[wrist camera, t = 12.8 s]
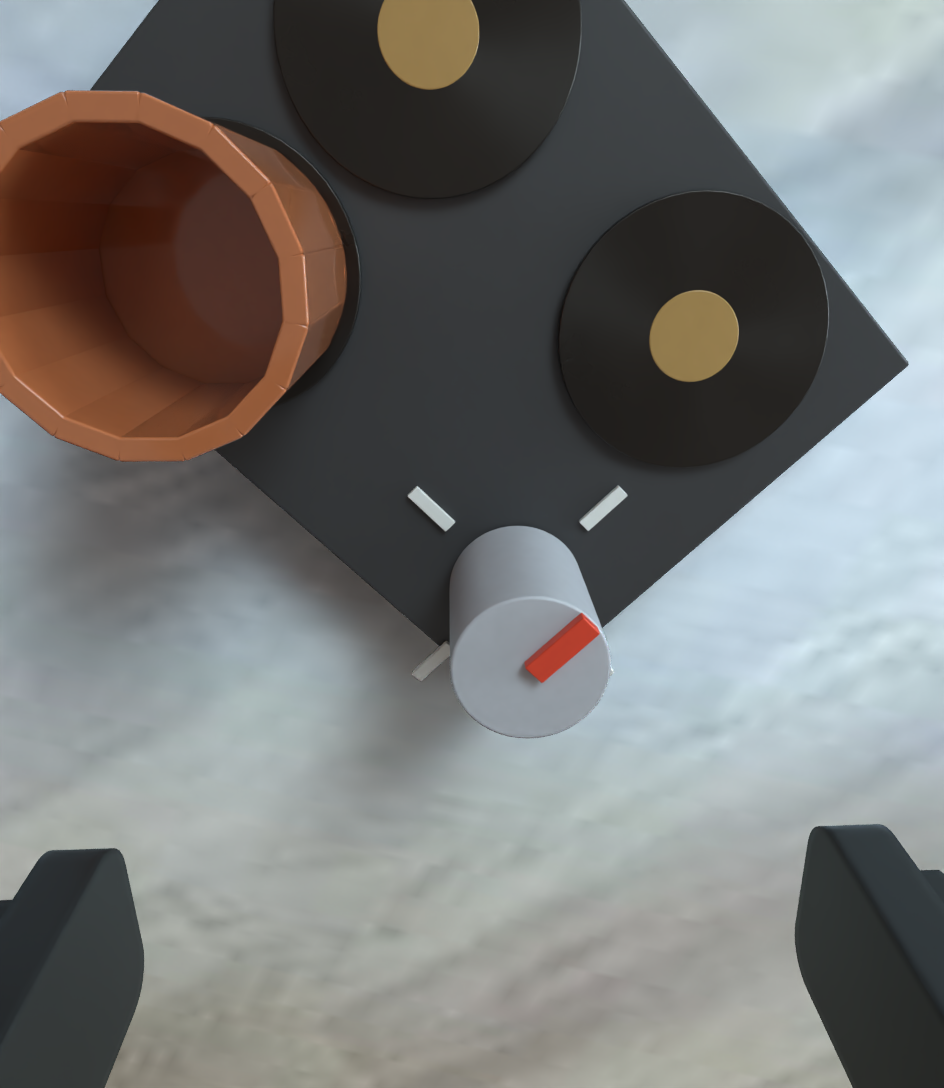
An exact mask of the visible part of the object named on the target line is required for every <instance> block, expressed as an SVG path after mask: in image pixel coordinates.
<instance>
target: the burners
mask: <svg viewBox="0 0 944 1088" xmlns="http://www.w3.org/2000/svg"><path fill="white" fill-rule="evenodd" d="M273 24H274V38H275V46H276V54H277V58H278V62H279V66H280V70H281V75H282V78H283V81H284V83H285V86H286V89H287V91H288V94H289V97H290V99H291V101H292V103H293V105H294V107H295V109H296V111H297V113H298V115H299V117H300V119H301V120H302V122H303V123H304V125H305V126H306V128H307V129H308V131H309V132H310V134H311V135H312V136H313V138H314V139H315V140H316V141H317V142H318V144H319V145H320V146H321V147H322V148H323V149H324V151H325V152H326V153H327V154H328V155H330V156H331V157H332V158H333V159H334V160H335V161H336V162H337V163H338V164H339V165H340V166H342V167H343V168H345V169H346V170H347V171H349V172H350V173H352V174H353V175H354V176H356V177H357V178H359V179H361V180H363V181H365V182H367V183H368V184H370V185H372V186H374V187H376V188H379V189H382V190H384V191H387V192H390V193H393V194H397V195H401V196H406V197H410V198H420V199H443V198H452V197H457V196H462V195H467V194H470V193H473V192H475V191H478V190H481V189H484V188H486V187H488V186H490V185H492V184H494V183H496V182H497V181H499V180H501V179H503V178H504V177H506V176H507V175H509V174H510V173H511V172H513V171H514V170H516V169H517V168H518V167H520V166H521V165H522V164H523V163H524V162H525V161H526V160H527V159H528V158H529V157H530V156H531V155H532V154H533V153H534V152H535V151H536V150H537V149H538V147H539V146H540V145H541V144H542V143H543V141H544V140H545V139H546V138H547V136H548V135H549V133H550V132H551V130H552V129H553V127H554V125H555V124H556V122H557V121H558V119H559V117H560V115H561V113H562V111H563V109H564V106H565V104H566V102H567V100H568V97H569V94H570V91H571V89H572V86H573V83H574V80H575V76H576V71H577V66H578V62H579V57H580V47H581V38H582V11H581V3H580V0H274V6H273ZM202 118H205V119H207V120H209V121H212V122H214V123H216V124H219V125H221V126H223V127H226V128H228V129H230V130H232V131H235V132H237V133H239V134H241V135H244V136H246V137H248V138H250V139H253V140H255V141H257V142H259V143H262V144H264V145H266V146H268V147H270V148H273V149H275V150H277V151H278V152H279V153H281V154H282V155H283V156H284V157H285V158H286V159H287V160H289V161H290V162H291V163H292V164H293V165H294V166H295V167H297V168H298V169H299V170H300V171H301V172H302V173H303V174H304V175H305V176H306V177H307V178H308V180H309V181H310V182H311V183H312V184H313V185H314V187H315V188H316V189H317V191H318V192H319V194H320V195H321V197H322V198H323V200H324V201H325V203H326V204H327V206H328V208H329V210H330V212H331V214H332V216H333V218H334V220H335V223H336V225H337V228H338V231H339V234H340V236H341V240H342V245H343V249H344V253H345V261H346V270H347V282H346V295H345V302H344V307H343V311H342V314H341V318H340V321H339V324H338V326H337V328H336V331H335V333H334V335H333V337H332V339H331V342H330V345H329V346H328V348H327V350H326V351H325V352H324V353H323V354H322V355H321V356H320V357H319V358H318V359H317V360H316V361H315V363H314V364H313V365H312V366H311V367H310V368H309V369H308V370H307V371H306V372H305V373H304V374H303V375H302V377H301V378H300V379H299V380H298V381H297V382H296V383H295V384H294V385H293V386H292V387H291V388H290V389H289V390H288V391H287V392H286V393H285V394H284V396H283V397H282V398H281V399H280V400H279V401H278V402H277V403H276V404H275V405H274V406H273V407H275V406H278V405H281V404H284V403H286V402H288V401H290V400H292V399H293V398H295V397H297V396H299V395H301V394H302V393H304V392H305V391H306V390H308V389H309V388H311V387H312V386H313V385H315V384H316V383H317V382H318V381H319V380H320V379H321V378H322V377H323V376H324V375H325V374H326V373H327V372H328V371H329V369H330V368H331V367H332V366H333V365H334V363H335V362H336V361H337V360H338V358H339V356H340V355H341V353H342V351H343V350H344V348H345V347H346V345H347V343H348V340H349V338H350V336H351V334H352V331H353V329H354V326H355V322H356V319H357V315H358V312H359V306H360V299H361V292H362V270H361V260H360V253H359V248H358V244H357V240H356V235H355V233H354V230H353V227H352V224H351V222H350V219H349V216H348V214H347V212H346V210H345V208H344V206H343V204H342V202H341V200H340V199H339V197H338V196H337V194H336V192H335V191H334V189H333V188H332V186H331V185H330V183H329V182H328V181H327V180H326V178H325V177H324V176H323V175H322V174H321V173H320V171H319V170H318V169H317V168H316V167H315V166H314V165H313V164H312V163H311V162H310V161H309V160H308V159H307V158H306V157H304V156H303V155H302V154H301V153H300V152H299V151H297V150H296V149H295V148H293V147H292V146H290V145H289V144H287V143H286V142H285V141H283V140H281V139H280V138H278V137H276V136H274V135H272V134H270V133H268V132H266V131H264V130H262V129H260V128H257V127H254V126H252V125H249V124H246V123H244V122H239V121H235V120H230V119H226V118H217V117H202ZM828 325H829V304H828V296H827V290H826V284H825V280H824V277H823V274H822V271H821V268H820V265H819V263H818V261H817V259H816V257H815V255H814V253H813V250H812V249H811V247H810V246H809V244H808V243H807V241H806V240H805V238H804V237H803V235H802V234H801V233H800V232H799V231H798V230H797V229H796V228H795V227H794V226H793V224H792V223H791V222H790V221H788V220H787V219H786V218H785V217H783V216H782V215H781V214H780V213H778V212H777V211H776V210H774V209H772V208H771V207H769V206H767V205H765V204H764V203H762V202H760V201H757V200H755V199H752V198H750V197H747V196H745V195H741V194H737V193H732V192H728V191H718V190H696V191H685V192H681V193H676V194H671V195H667V196H664V197H661V198H658V199H656V200H653V201H650V202H648V203H646V204H644V205H642V206H640V207H638V208H636V209H634V210H632V211H631V212H629V213H628V214H627V215H625V216H624V217H622V218H621V219H619V220H618V221H616V222H615V223H614V224H613V225H612V226H611V227H610V228H609V229H607V230H606V231H605V232H604V233H603V234H602V235H601V236H600V237H599V238H598V240H597V241H596V242H595V243H594V244H593V245H592V246H591V247H590V249H589V250H588V252H587V253H586V255H585V256H584V257H583V259H582V260H581V262H580V263H579V265H578V267H577V269H576V271H575V273H574V275H573V277H572V278H571V280H570V283H569V285H568V288H567V291H566V294H565V296H564V299H563V303H562V307H561V312H560V316H559V324H558V334H557V342H558V358H559V365H560V371H561V374H562V378H563V381H564V384H565V387H566V390H567V392H568V394H569V396H570V399H571V401H572V403H573V405H574V406H575V408H576V409H577V411H578V413H579V414H580V416H581V417H582V419H583V420H584V421H585V422H586V423H587V425H588V426H589V427H590V428H591V429H592V431H593V432H594V433H596V434H597V435H598V436H599V437H600V438H601V439H602V440H603V441H604V442H606V443H607V444H609V445H610V446H611V447H613V448H614V449H616V450H617V451H619V452H621V453H623V454H625V455H627V456H629V457H631V458H633V459H636V460H639V461H642V462H645V463H648V464H653V465H658V466H663V467H678V468H683V467H698V466H703V465H708V464H713V463H717V462H720V461H723V460H726V459H729V458H732V457H734V456H736V455H738V454H741V453H743V452H745V451H747V450H749V449H750V448H752V447H753V446H755V445H757V444H758V443H760V442H762V441H763V440H764V439H766V438H767V437H768V436H769V435H771V434H772V433H773V432H775V431H776V430H777V429H778V428H779V427H780V426H781V425H782V424H783V423H784V422H785V421H786V420H787V419H788V418H789V417H790V416H791V414H792V413H793V412H794V411H795V409H796V408H797V407H798V406H799V404H800V403H801V401H802V400H803V398H804V397H805V395H806V394H807V392H808V390H809V389H810V387H811V385H812V383H813V381H814V379H815V377H816V374H817V372H818V370H819V367H820V364H821V361H822V358H823V355H824V351H825V346H826V341H827V336H828Z"/></svg>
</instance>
